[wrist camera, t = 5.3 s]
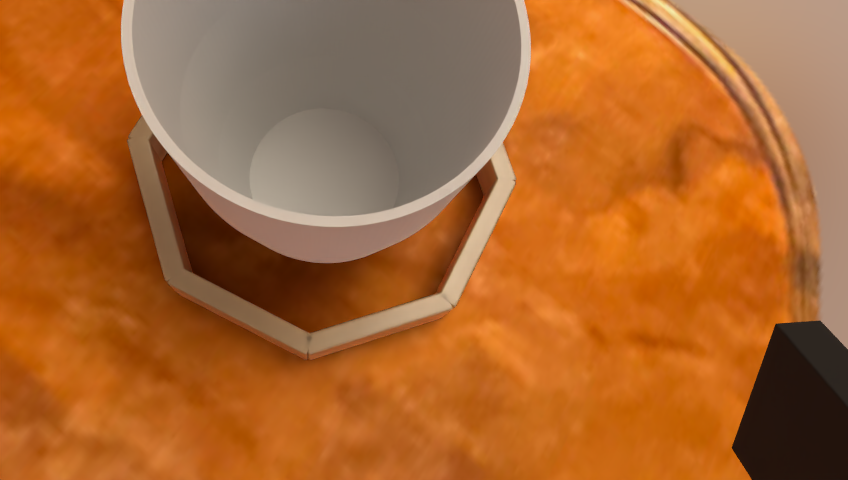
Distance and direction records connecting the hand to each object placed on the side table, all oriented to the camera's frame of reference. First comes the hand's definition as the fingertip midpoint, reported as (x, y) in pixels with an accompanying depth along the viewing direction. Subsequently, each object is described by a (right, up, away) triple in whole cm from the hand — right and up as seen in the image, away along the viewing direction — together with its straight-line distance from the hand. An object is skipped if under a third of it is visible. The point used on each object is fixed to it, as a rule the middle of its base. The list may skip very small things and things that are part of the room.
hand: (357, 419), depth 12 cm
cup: (-2, +5, +14) cm, 15 cm away
